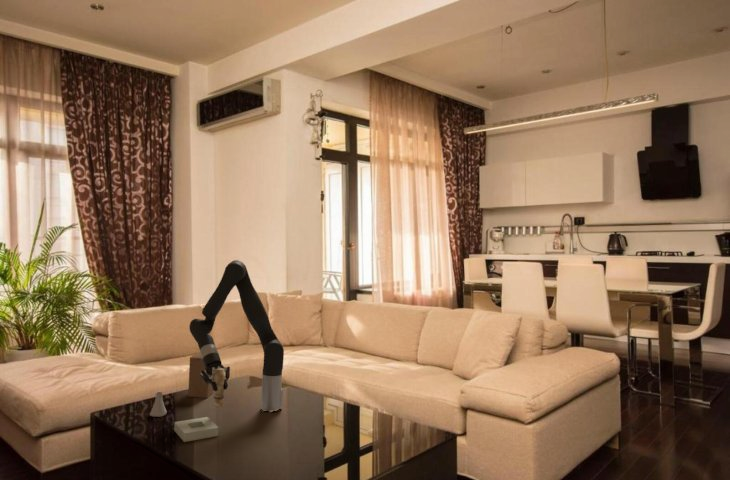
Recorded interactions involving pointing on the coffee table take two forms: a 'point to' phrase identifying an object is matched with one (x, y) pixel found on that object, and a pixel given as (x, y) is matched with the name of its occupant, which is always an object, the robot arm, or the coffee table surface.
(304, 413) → the coffee table surface
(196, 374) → the wooden block
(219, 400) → the peg
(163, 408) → the flask
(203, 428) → the white flat square block
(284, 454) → the coffee table surface
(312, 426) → the coffee table surface
